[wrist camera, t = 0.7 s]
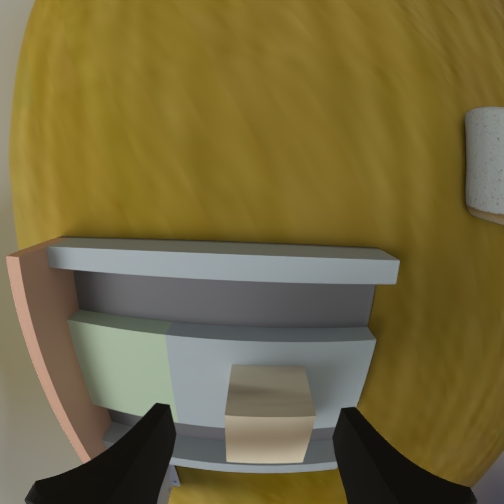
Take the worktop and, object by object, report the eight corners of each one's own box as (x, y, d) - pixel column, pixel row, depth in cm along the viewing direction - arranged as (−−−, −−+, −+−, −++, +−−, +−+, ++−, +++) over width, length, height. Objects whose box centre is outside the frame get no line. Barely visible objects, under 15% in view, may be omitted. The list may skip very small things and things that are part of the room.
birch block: (295, 414, 19) (302, 462, 15) (231, 413, 19) (226, 461, 15) (304, 366, 18) (316, 416, 13) (231, 364, 18) (224, 415, 13)
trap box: (330, 444, 24) (341, 491, 17) (105, 424, 24) (84, 463, 18) (377, 247, 19) (424, 275, 12) (60, 236, 19) (5, 255, 13)
